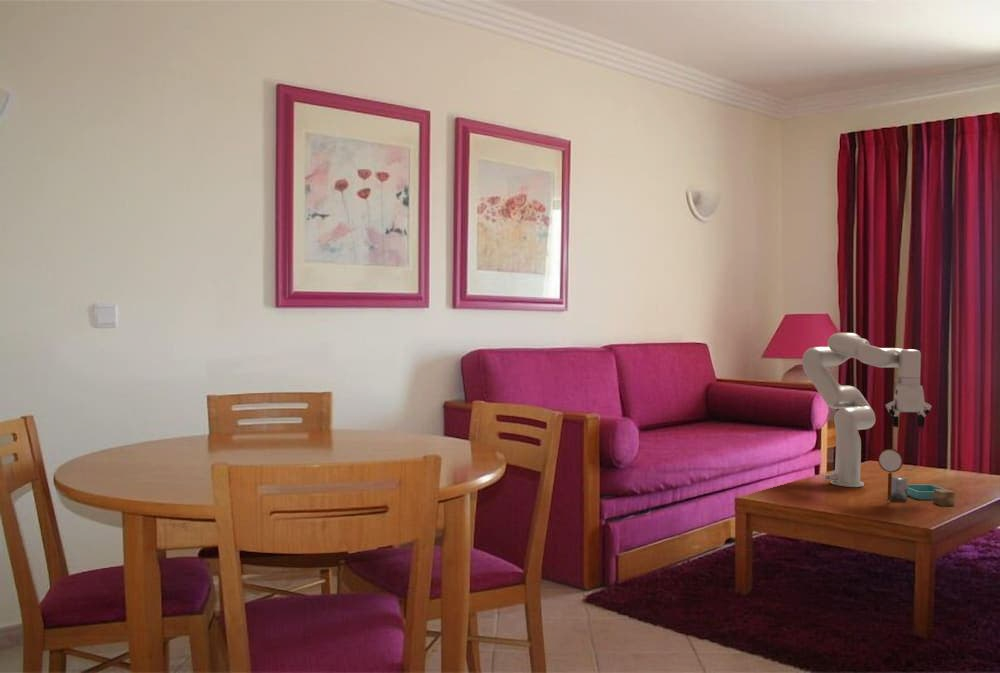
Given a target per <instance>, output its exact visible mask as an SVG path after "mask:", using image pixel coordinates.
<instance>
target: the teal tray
mask: <svg viewBox="0 0 1000 673" xmlns="http://www.w3.org/2000/svg"><path fill="white" fill-rule="evenodd" d="M934 489H944V488H943V487H940V486H937V485H933V484H908V491H907V497H910V498H913V499H915V500H918V501H920V500H921V501H923V500H924V501H925V500H927V501H928V500H929V501H930V500H931V501H933V498H934Z"/></svg>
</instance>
